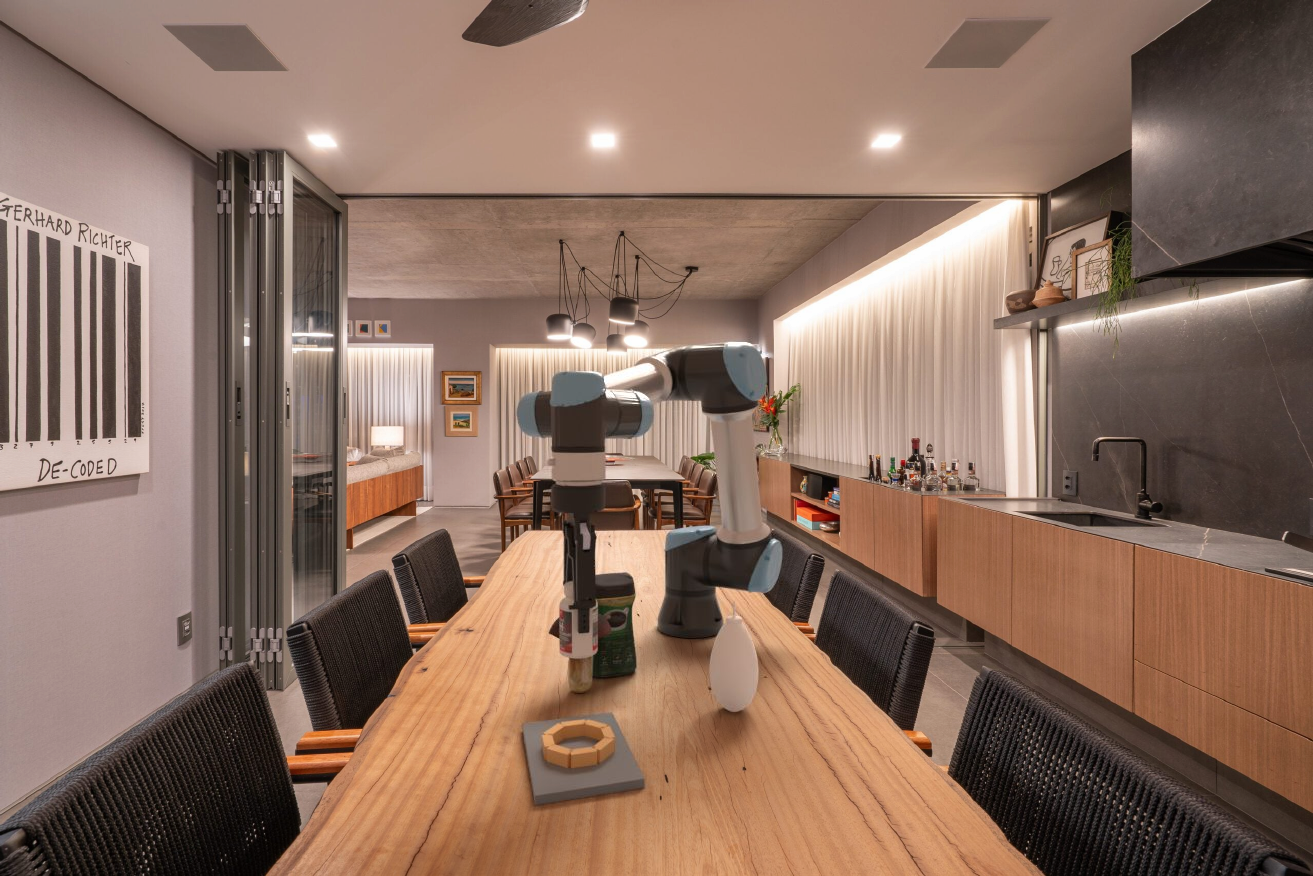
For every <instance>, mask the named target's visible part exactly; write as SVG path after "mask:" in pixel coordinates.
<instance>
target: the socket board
mask: <svg viewBox="0 0 1313 876" xmlns="http://www.w3.org/2000/svg"><path fill="white" fill-rule="evenodd" d="M615 717H616V716H615V715H614V713H613V712H612V711H610V712H609V711H608V712H603V713H601V712H600V713H595V714H586V715H579V716H578V715H577V716H572V717H571V716H569V717H564V718H563V717H562V718H556V719H555V718H554V719H547V720H546V719H545V720H539V721H532V722H524V723H521V727H522V728H521V729H522V730H521V732H522V736H523V737H522V738H523V743H524V748H525V749H524V750H525V755H526V761H527V765H528V772H529V778H530V785H531V789H532V790H531V791H532V795H533V802H534V806H539V805H546V804H552V803H560V802H564V801H571V800H577V799H583V798H588V797H589V798H590V797H595V796H602V795H607V794H608V795H609V794H614V793H615V794H616V793H621V792H626V791H632V790H633V791H634V790H638V789H639V790H640V789H645V788H646V787H645V786H646V785H645V781H646V779H645V776H644V774H643V772H642V770H641V769H640V766H639V764H638V763H637V760H636V758H635V756H634V754H633V751H632V750H631V748H630V746H629V744H628V742H627V739H626V738H625V736H624V734H623V732H622V730H621V727H620V725H619V723H618V722H617V720H616V718H615Z"/></svg>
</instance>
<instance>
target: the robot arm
mask: <svg viewBox="0 0 1313 876" xmlns="http://www.w3.org/2000/svg"><path fill="white" fill-rule="evenodd" d="M767 384H768V376H767V369H766V364H765V361H764V358H763V356H762V354H761V352H759V350H758V349H757V347H756V346H755V345H754V344H752V343H749V342H744V341H743V342H741V341H739V342H738V341H737V342H736V341H726V342H725V341H723V342H714V343H705V344H702V343H701V344H695V345H693V344H690V345H689V344H688V345H681V346H677V347H673V348H670V349H667V350H664V351H661V352H657V353H655V354H652V355H649V356H646V357H643V358H641V359H640V360H638V361H637V362H636V363H635V364H634V365H633V366H630V367H628V368H623V369H620V370H616V371H614V372H610V373H607V374H602V373H601V372H599V371H588V370H587V371H586V370H568V371H567V370H564V371H559V372H557V373H555V374H554V375H553V377H552V379H551V389H550V390H547V391H543V390H537V391H533V392H532V391H531V392H528V393H526V394H524V395H523V396H522V397H520V400H519V402H518V404H517V407H516V412H515V413H516V414H515V415H516V420H517V424H518V427H519V428H520V430H521V431H522V433H523V434H525V435H526V436H530V437H537V438H541V439H546V438H551V447H550V449H551V457H552V458H548V459H547V460H546V465H547V466H549V467H551V480H552V481H554V482H555V483H554V484H552V486H551V487H550V490H551V491H550V492H551V493H550V494H551V495H550V502H551V503H550V506H551V507H550V508H551V510H552V511H554V512H556V513H561V514H566V519H565V520H563V521H562V535H563V581H562V585H563V587H564V584H565V583H567V582H570V581H573V596H574V603H573V605H568V608H569V610H572V656H573V657H575V656H585V655H593V607H595V606H596V581H595V575H596V543H597V538H598V537H597V533H596V529H595V528H596V527H595V524H592V523H591V514H592V513H598V512H602V511H603V510H605V509H606V508H605V507H606V486H605V484H604V483H602V481H604V480H605V479H606V478H607V477H606V476H607V475H606V473H607V472H606V471H607V470H606V466H607V465H606V453H607V452H606V440H607V439H610V440H611V439H612V440H614V439H623V440H625V439H627V440H630V439H631V440H632V439H634V438H639V437H642V436H643V435H645V434H646V433H647V432H648V431H649V430H650V429H651V427H652V425H653V422H654V418H655V417H654V416H655V412H654V411H655V410H654V407H653V405H654V404H659V403H663V402H669V401H670V402H671V401H672V402H673V401H674V402H675V401H676V402H678V401H680V402H700V404H701V405H700V406H701V412H702V413H701V414H703V415H704V416H706V417H707V418H709V420H710V427H711V434H712V435H711V436H712V446H713V453H714V463H715V472H716V481H717V491H718V498H719V500H718V501H719V507H720V515H721V526H719V528H718V529H717V528H716V527H715V526H713V525H697V526H687V527H681V528H675V529H672V530H670V531H668V532H667V533H666V536H665V544H664V581H665V583H664V584H665V585H664V587H665V588H664V589H665V590H664V591H665V592H664V597H663V600H662V602H661V607H660V609H659V613H658V616H657V629H658V631H659V632H661V634H664V635H667V636H670V637H675V638H683V639H702V638H708V637H713V636H717V635H718V633H719V631H720V629H721V627H722V626H723V625H724V616H723V613H722V610H721V608H720V604H719V601H718V598H717V592H716V591H717V590H716V589H717V588H721V589H727V590H736V591H743V592H748V593H758V594H759V593H761V594H765V593H768V592H770V591H771V590H772V589H773V588H774V587H775V584H776V583H777V581H778V578H779V576H780V572H781V569H782V560H783V546H782V543H781V541H780V540H778V539H776V538H772V535H771V534H772V533H771V528H770V526H769V525H768V524H766V523H765V522H763V515H762V505H761V494H760V486H759V485H760V484H759V476H758V475H759V474H758V466H757V454H756V453H757V452H756V444H755V443H756V441H755V434H754V433H755V432H754V431H755V430H754V422H753V415H754V413H755V411H756V410H757V409H758V408H759V400H761V399H762V400H763V397H765V394H766V393H767Z"/></svg>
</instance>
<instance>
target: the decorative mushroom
mask: <svg viewBox="0 0 1313 876" xmlns="http://www.w3.org/2000/svg"><path fill="white" fill-rule="evenodd" d="M611 631H612V629H611V626H610V625H609V622H608V621H607V619H606V618H605V617H604V616H602V615H601V614H599V613H598V638H601V637H604V636H606V635H609V634H610V633H611ZM548 634H549V635H551V636H553V637H555V638H557V639H559V617H558V618H557V619H556V620H555V621H553V623H552V624H551V626H550V628H549V631H548ZM567 679H568V680H567V682H568V683H567V684H568V687H569V688H570V689H571V691H572V692H574V693H578V694H579V693H580V694H582V693H585V692H587V691H588V690H589V689H590V688H591V687H592V683H593V675H592V658H591V656H590V657H587V658H568V672H567Z"/></svg>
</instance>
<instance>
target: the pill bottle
mask: <svg viewBox="0 0 1313 876" xmlns="http://www.w3.org/2000/svg"><path fill="white" fill-rule="evenodd" d="M563 594H564V598H562V599H561V600H560V602H559V604H558V607H559V608H558V609H559V610H558V612H559V615H558V616H559V617H558V618H559V638H558V639H559V640H558V641H559V645H558V646H559V653H560V655H561V656H562V657H564V658H568V659H569V658H587V657H590V656H592V655H585V656H575V657H573V656H572V610H569V608H568V605H573V603H574V596H573V581H570V582H567V583H565V584H564V586H563ZM597 650H598V603H597V600H596V606H595V607H593V655H594V654H596V652H597Z"/></svg>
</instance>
